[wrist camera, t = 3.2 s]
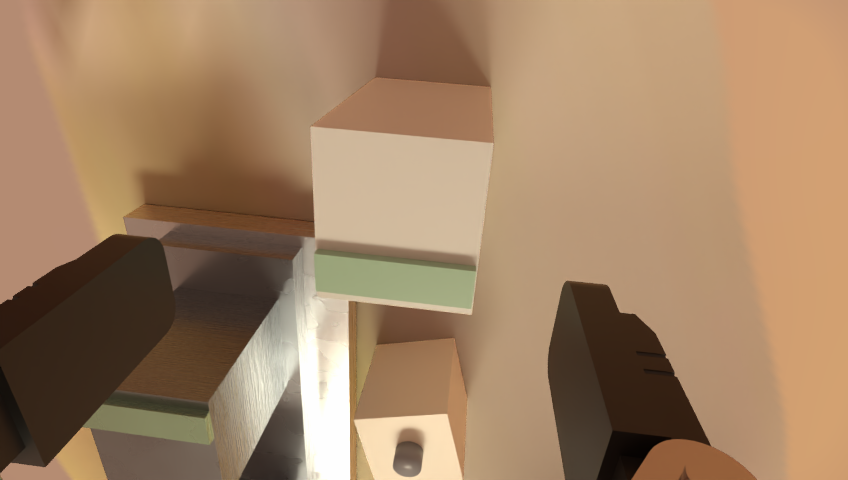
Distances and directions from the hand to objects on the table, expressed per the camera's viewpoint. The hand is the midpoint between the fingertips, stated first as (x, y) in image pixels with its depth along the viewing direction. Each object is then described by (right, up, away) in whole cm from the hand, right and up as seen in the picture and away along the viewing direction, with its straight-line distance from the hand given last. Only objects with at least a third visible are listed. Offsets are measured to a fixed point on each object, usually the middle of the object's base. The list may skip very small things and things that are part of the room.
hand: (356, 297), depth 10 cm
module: (+2, +5, +10) cm, 12 cm away
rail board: (-7, -7, +18) cm, 21 cm away
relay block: (+1, -6, +16) cm, 17 cm away
